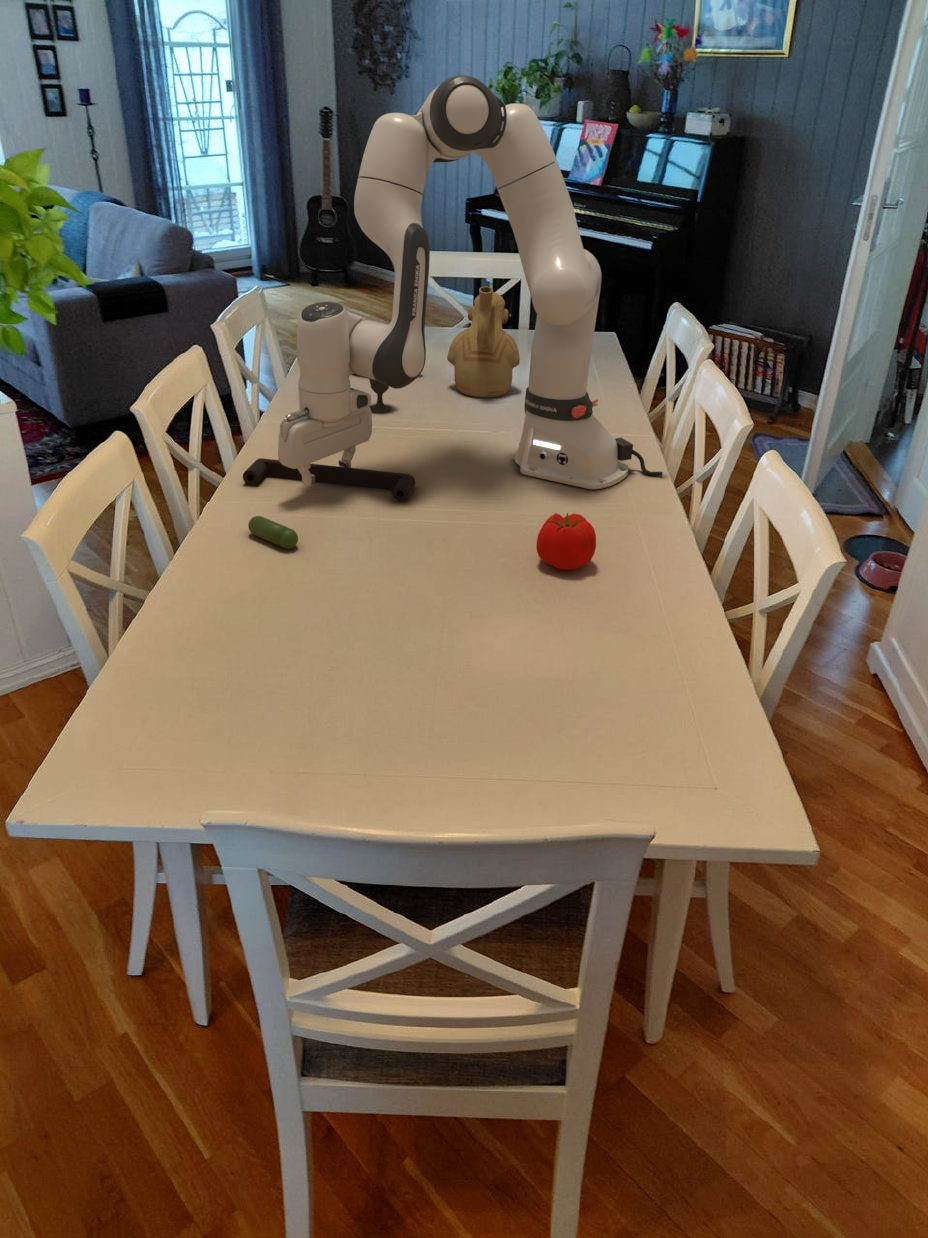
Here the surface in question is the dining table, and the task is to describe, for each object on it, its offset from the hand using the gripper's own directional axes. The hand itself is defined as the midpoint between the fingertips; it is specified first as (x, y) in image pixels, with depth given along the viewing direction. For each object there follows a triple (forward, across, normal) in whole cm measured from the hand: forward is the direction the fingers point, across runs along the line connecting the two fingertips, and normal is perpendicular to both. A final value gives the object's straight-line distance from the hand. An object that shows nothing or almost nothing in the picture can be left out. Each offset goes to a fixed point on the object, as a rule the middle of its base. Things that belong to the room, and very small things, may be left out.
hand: (327, 476), depth 168 cm
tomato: (+2, +3, -48) cm, 48 cm away
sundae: (+2, +39, +22) cm, 44 cm away
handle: (+2, 0, 0) cm, 2 cm away
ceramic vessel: (+2, +66, +14) cm, 67 cm away
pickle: (+2, -22, -9) cm, 23 cm away
